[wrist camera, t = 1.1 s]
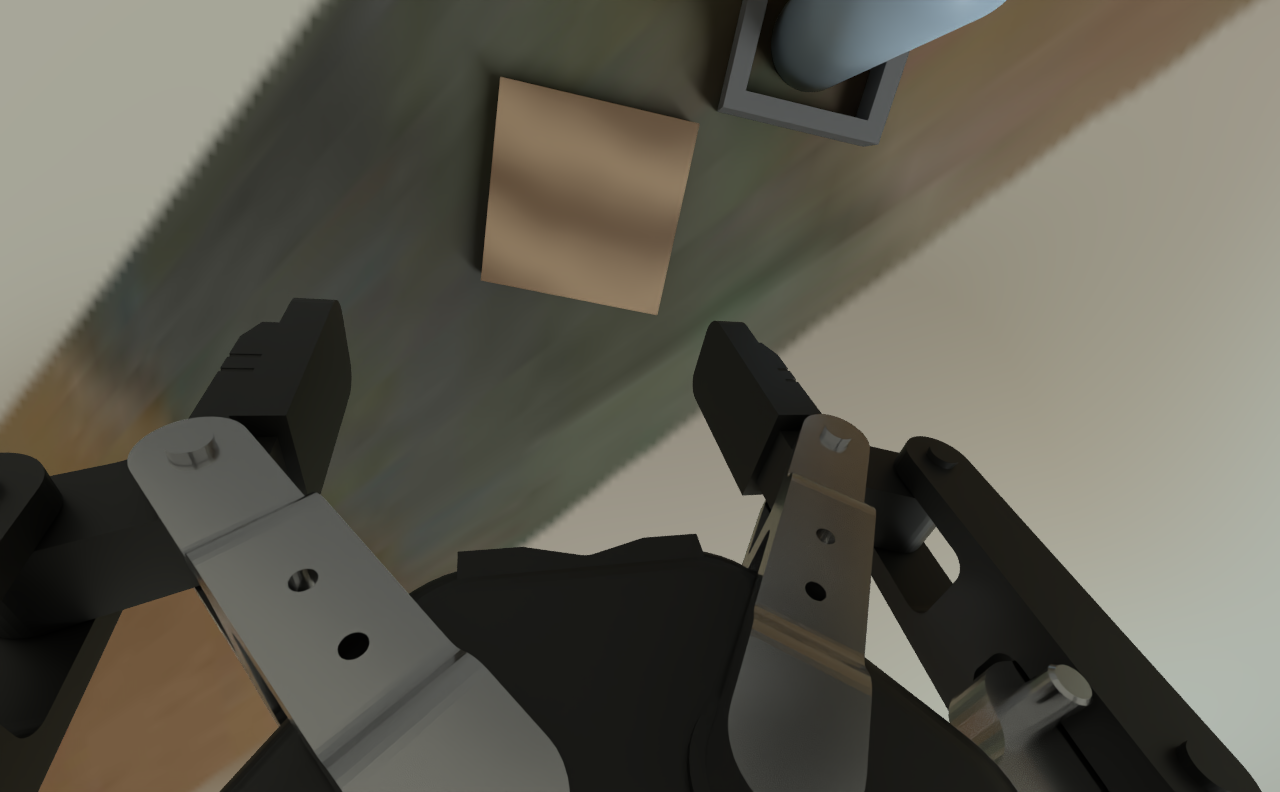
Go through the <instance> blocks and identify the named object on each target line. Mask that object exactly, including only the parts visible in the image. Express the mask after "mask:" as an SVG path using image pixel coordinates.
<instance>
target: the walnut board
mask: <svg viewBox="0 0 1280 792" xmlns="http://www.w3.org/2000/svg"><path fill="white" fill-rule="evenodd" d="M698 128H699V124H698V123H694V122H690V121H685V120H681V119H677V118H673V117H669V116H664V115H660V114H656V113H652V112H647V111H643V110H639V109H635V108H631V107H626V106H622V105H618V104H614V103H609V102H605V101H601V100H597V99H593V98H588V97H584V96H580V95H576V94H571V93H567V92H563V91H559V90H555V89H550V88H546V87H542V86H538V85H533V84H529V83H525V82H521V81H516V80H512V79H508V78H504V77H500V85H499V96H498V106H497V117H496V127H495V138H494V148H493V159H492V169H491V179H490V190H489V200H488V211H487V221H486V232H485V242H484V253H483V263H482V274H481V280H482V281H487V282H492V283H497V284H502V285H507V286H512V287H517V288H522V289H527V290H532V291H538V292H543V293H548V294H553V295H558V296H563V297H568V298H573V299H578V300H583V301H588V302H593V303H598V304H603V305H608V306H613V307H618V308H624V309H629V310H634V311H639V312H644V313H649V314H654V315H657V314H658V309H659V305H660V300H661V296H662V291H663V287H664V282H665V278H666V273H667V269H668V264H669V259H670V255H671V250H672V246H673V241H674V237H675V232H676V228H677V223H678V219H679V214H680V210H681V205H682V201H683V196H684V192H685V187H686V183H687V178H688V174H689V169H690V165H691V160H692V156H693V151H694V147H695V142H696V138H697V133H698Z"/></svg>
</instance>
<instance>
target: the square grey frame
mask: <svg viewBox="0 0 1280 792" xmlns="http://www.w3.org/2000/svg"><path fill="white" fill-rule="evenodd" d="M767 2H768V0H743V1H742V6H741V10H740V14H739V19H738V23H737V27H736V32H735V36H734V40H733V45H732V49H731V53H730V58H729V62H728V66H727V71H726V75H725V79H724V84H723V88H722V92H721V97H720V101H719V105H718V110H717V112H721V113H726V114H730V115H734V116H738V117H742V118H746V119H751V120H755V121H759V122H763V123H767V124H771V125H776V126H780V127H784V128H788V129H792V130H796V131H801V132H805V133H809V134H813V135H817V136H821V137H826V138H830V139H834V140H838V141H842V142H846V143H851V144H855V145H859V146H863V147H864V146H870V145H877V144H879V141H880V138H881V135H882V132H883V129H884V126H885V123H886V120H887V117H888V114H889V111H890V108H891V105H892V102H893V99H894V96H895V93H896V90H897V87H898V84H899V81H900V78H901V75H902V72H903V69H904V66H905V63H906V60H907V57H908V54H909V51H908V52H906V53H903V54H901V55H899V56H897V57H895V58H892V59H890V60H888V61H886V62H884V63H882V64H879V65H877V66H875V67H873V68H871V70H870V73H869V76H868V80H867V83H866V86H865V89H864V92H863V95H862V99H861V102H860V105H859V108H858V111H857V114H856V117H851V116H847V115H843V114H839V113H835V112H831V111H827V110H823V109H819V108H815V107H811V106H807V105H802V104H798V103H794V102H790V101H786V100H782V99H778V98H774V97H770V96H766V95H762V94H758V93H754V92H750V91H746V88H747V84H748V80H749V76H750V72H751V68H752V63H753V59H754V55H755V51H756V47H757V43H758V39H759V35H760V31H761V27H762V23H763V19H764V14H765V10H766V6H767Z"/></svg>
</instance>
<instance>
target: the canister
mask: <svg viewBox="0 0 1280 792" xmlns="http://www.w3.org/2000/svg"><path fill="white" fill-rule="evenodd" d="M1005 1H1006V0H789V1H788V2H787V3H786V5H785V6H784V7H783V9H782V10H781V12H780V13H779V15H778V17H777V19H776V22H775V25H774V28H773V32H772V37H771V53H772V59H773V62H774V65H775V68H776V70H777V72H778V73H779V75H780V76H781V78H782V79H783V80H784V81H785V82H786V83H787V84H788V85H790V86H791V87H793V88H795V89H797V90H800V91H804V92H818V91H822V90H825V89H827V88H829V87H832V86H834V85H836V84H838V83H840V82H842V81H845V80H847V79H849V78H851V77H853V76H856V75H858V74H860V73H862V72H864V71H866V70H869V69H871V68H873V67H875V66H877V65H879V64H882V63H884V62H886V61H888V60H890V59H892V58H895V57H897V56H899V55H901V54H903V53H906V52H908V51H910V50H912V49H914V48H916V47H919V46H921V45H923V44H925V43H927V42H929V41H932V40H934V39H936V38H938V37H940V36H942V35H945V34H947V33H949V32H951V31H953V30H955V29H958V28H960V27H962V26H964V25H966V24H969V23H971V22H973V21H975V20H977V19H979V18H982V17H984V16H985V15H987V14H989V13H990V12H992V11H994V10H995V9H996V8H998V7H999V6H1000V5H1002V4H1003V3H1004V2H1005Z"/></svg>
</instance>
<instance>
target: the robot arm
mask: <svg viewBox="0 0 1280 792" xmlns="http://www.w3.org/2000/svg"><path fill="white" fill-rule="evenodd" d="M229 354H230V357H227V358H226V360H225V361H224V363H223V364H222V366H221V371H218V372H217V374H216V376H215V377H214V379H213V380H212V382H211V384H210V385H209V387H208V388H207V390H206V392H205V393H204V395H203V396H202V398H201V400H200V401H199V403H198V404H197V406H196V408H195V409H194V411H193V412H192V414H191V415H190V417H189V419H185V420H181V421H178V422H174V423H171V424H169V425H166V426H163V427H161V428H159V429H157V430H155V431H153V432H151V433H150V434H148V435H147V436H145V437H144V438H143V439H141V440H140V441H139V442H138V443H137V444H136V445H135V446H134V447H133V449H132V450H131V452H130V453H129V456H128V459H127V460H124V461H121V462H116V463H112V464H108V465H103V466H98V467H93V468H88V469H83V470H78V471H73V472H68V473H63V474H58V475H53V476H49V474H48V473H47V471H46V470H45V468H44V467H43V465H42V464H41V463H40V462H39V461H38V460H37V459H35V458H33V457H30V456H27V455H23V454H18V453H0V792H38V791H39V789H40V786H41V784H42V782H43V780H44V778H45V776H46V774H47V771H48V769H49V767H50V765H51V763H52V761H53V759H54V756H55V754H56V752H57V750H58V748H59V746H60V744H61V741H62V739H63V737H64V735H65V733H66V731H67V728H68V726H69V724H70V722H71V720H72V718H73V716H74V713H75V711H76V709H77V707H78V705H79V703H80V701H81V698H82V696H83V694H84V692H85V690H86V688H87V686H88V683H89V681H90V679H91V677H92V675H93V673H94V671H95V668H96V666H97V664H98V662H99V660H100V658H101V656H102V653H103V651H104V649H105V647H106V645H107V643H108V640H109V638H110V636H111V634H112V632H113V630H114V628H115V625H116V623H117V621H118V619H119V617H120V615H121V613H122V610H124V609H127V608H130V607H133V606H136V605H140V604H143V603H146V602H149V601H152V600H155V599H159V598H162V597H165V596H168V595H171V594H175V593H178V592H181V591H184V590H187V589H190V588H194V589H195V591H196V593H197V594H198V596H199V597H200V599H201V601H202V602H203V604H204V605H205V607H206V609H207V610H208V612H209V613H210V615H211V617H212V618H213V620H214V621H215V623H216V625H217V626H218V628H219V629H220V631H221V632H222V634H223V636H224V637H225V639H226V640H227V642H228V644H229V645H230V647H231V648H232V650H233V652H234V653H235V655H236V656H237V658H238V660H239V661H240V663H241V664H242V666H243V668H244V669H245V671H246V673H247V674H248V676H249V678H250V680H251V681H252V683H253V685H254V686H255V688H256V690H257V692H258V693H259V695H260V697H261V699H262V700H263V702H264V704H265V705H266V707H267V709H268V710H269V712H270V713H271V715H272V717H273V718H274V720H275V722H276V723H277V725H278V726H279V728H278V729H277V730H276V731H275V732H274V733H273V734H272V735H271V736H270V737H269V738H268V740H267V741H266V742H265V743H264V744H263V745H262V746H261V747H260V748H259V749H258V750H257V752H256V753H255V754H254V755H253V756H252V757H251V758H250V759H249V760H248V761H247V762H246V764H245V765H244V766H243V767H242V768H241V769H240V770H239V771H238V772H237V773H236V774H235V776H234V777H233V778H232V779H231V780H230V781H229V782H228V783H227V784H226V785H225V786H224V788H223V789H222V790H221V791H220V792H1262V791H1261V790H1260V788H1259V786H1258V785H1257V783H1256V782H1255V781H1254V779H1253V778H1252V776H1251V775H1250V774H1249V772H1248V771H1247V770H1246V769H1245V768H1244V766H1243V765H1242V764H1241V763H1240V762H1239V761H1238V760H1237V758H1236V757H1235V756H1234V755H1233V754H1232V753H1231V752H1230V751H1229V750H1228V749H1227V747H1226V746H1225V745H1224V744H1223V743H1222V742H1221V741H1220V740H1219V738H1218V737H1217V736H1216V735H1215V734H1214V733H1213V732H1212V731H1211V730H1210V728H1209V727H1208V726H1207V725H1206V724H1205V723H1204V722H1203V721H1202V720H1201V718H1200V717H1199V716H1198V715H1197V714H1196V713H1195V712H1194V711H1193V710H1192V709H1191V707H1190V706H1189V705H1188V704H1187V703H1186V702H1185V701H1184V700H1183V698H1182V697H1181V696H1180V695H1179V694H1178V693H1177V692H1176V691H1175V690H1174V688H1173V687H1172V686H1171V685H1170V684H1169V683H1168V682H1167V681H1166V680H1165V678H1163V676H1162V675H1161V674H1160V673H1159V672H1158V671H1157V670H1156V668H1155V667H1154V666H1153V665H1152V664H1151V663H1150V662H1149V661H1148V660H1147V658H1146V657H1145V656H1144V655H1143V654H1142V653H1141V652H1140V651H1139V650H1138V648H1137V647H1136V646H1135V645H1134V644H1133V643H1132V642H1131V641H1130V640H1129V638H1128V637H1127V636H1126V635H1125V634H1124V633H1123V632H1122V631H1121V630H1120V628H1119V627H1118V626H1117V625H1116V624H1115V623H1114V622H1113V621H1112V620H1111V618H1110V617H1109V616H1108V615H1107V614H1106V613H1105V612H1104V611H1103V610H1102V608H1101V607H1100V606H1099V605H1098V604H1097V603H1096V602H1095V601H1094V599H1093V598H1092V597H1091V596H1090V595H1089V594H1088V593H1087V592H1086V591H1085V589H1083V587H1082V586H1081V585H1080V584H1079V583H1078V582H1077V581H1076V579H1075V578H1074V577H1073V576H1072V575H1071V574H1070V573H1069V572H1068V571H1067V569H1066V568H1065V567H1064V566H1063V565H1062V564H1061V563H1060V562H1059V561H1058V559H1056V557H1055V556H1054V555H1053V554H1052V553H1051V552H1050V551H1049V550H1048V548H1047V547H1046V546H1045V545H1044V544H1043V543H1042V542H1041V541H1040V539H1039V538H1038V537H1037V536H1036V535H1035V534H1034V533H1033V532H1032V531H1031V530H1030V528H1029V527H1028V526H1027V525H1026V524H1025V523H1024V522H1023V521H1022V519H1021V518H1020V517H1019V516H1018V515H1017V514H1016V513H1015V512H1014V511H1013V509H1012V508H1011V507H1010V506H1009V505H1008V504H1007V503H1006V502H1005V501H1004V499H1003V498H1002V497H1001V496H1000V495H999V494H998V493H997V492H996V491H995V489H993V487H992V486H991V485H990V484H989V483H988V482H987V481H986V480H985V479H984V477H983V476H982V475H981V474H980V473H979V472H978V471H977V469H976V468H975V467H974V466H973V465H972V464H971V463H970V462H969V461H968V459H966V457H964V456H963V455H962V454H961V453H960V452H959V451H957V450H956V449H954V448H953V447H951V446H949V445H948V444H946V443H944V442H941V441H939V440H936V439H933V438H929V437H923V436H917V437H912V438H910V439H909V440H908V441H907V443H906V444H905V446H904V447H903V449H902V450H901V452H900V453H897V452H893V451H888V450H884V449H880V448H875V447H871V446H870V445H869V442H868V440H867V438H866V437H865V436H864V434H863V433H862V432H861V431H860V430H858V429H857V428H856V427H855V426H853V425H852V424H850V423H849V422H847V421H845V420H843V419H841V418H838V417H835V416H831V415H826V414H821V412H820V411H819V410H818V409H817V407H816V406H815V404H814V403H813V402H812V400H811V399H810V398H809V396H808V395H807V394H806V392H805V391H804V390H803V388H802V387H801V386H800V384H799V383H798V382H796V379H795V377H794V376H793V375H792V373H791V372H790V371H788V370H787V369H788V368H787V367H786V365H785V364H784V363H783V361H782V360H781V359H780V357H779V356H778V355H777V354H776V353H774V352H773V351H772V350H770V349H769V348H768V347H766V346H765V345H764V344H762V343H759V342H758V341H757V340H756V338H755V337H754V335H753V334H752V333H751V331H750V330H749V328H748V327H747V326H746V325H745V324H744V323H743V322H727V321H713V322H712V323H711V324H710V325H709V327H708V329H707V332H706V335H705V339H704V342H703V345H702V348H701V352H700V355H699V358H698V361H697V365H696V368H695V371H694V375H693V393H694V397H695V399H696V401H697V403H698V405H699V407H700V409H701V411H702V413H703V415H704V418H705V419H706V422H707V424H708V426H709V428H710V430H711V432H712V434H713V436H714V438H715V440H716V442H717V444H718V446H719V448H720V450H721V452H722V454H723V456H724V459H725V461H726V463H727V465H728V467H729V469H730V471H731V473H732V475H733V477H734V479H735V481H736V483H737V485H738V487H739V489H740V491H741V493H742V495H761V494H763V496H764V497H765V499H766V500H765V502H764V504H763V506H762V508H761V510H760V513H759V516H758V519H757V522H756V525H755V528H754V531H753V534H752V537H751V539H750V543H749V545H748V548H747V551H746V554H745V558H744V560H743V563H742V565H741V564H739V563H737V562H735V561H733V560H730V559H727V558H725V557H722V556H718V555H715V554H711V553H708V552H703V551H702V548H701V545H700V543H699V540H698V537H697V535H696V534H687V535H674V536H661V537H648V538H642V539H638V540H635V541H632V542H629V543H626V544H623V545H620V546H617V547H614V548H611V549H608V550H605V551H602V552H599V553H595V554H592V555H576V554H568V553H562V552H554V551H547V550H540V549H534V548H526V547H515V548H502V549H489V550H476V551H462V552H458V563H457V572H454V573H451V574H447V575H444V576H442V577H440V578H437V579H435V580H433V581H430V582H428V583H427V584H425V585H423V586H421V587H419V588H418V589H416V590H414V591H413V592H411V593H410V594H408V593H407V592H406V590H405V589H404V588H403V587H402V586H401V585H400V584H399V583H398V581H397V580H396V579H395V578H394V577H393V576H392V575H391V573H390V572H389V571H388V570H387V569H386V568H385V567H384V566H383V564H382V563H381V562H380V561H379V560H378V559H377V558H376V556H375V555H374V554H373V553H372V552H371V551H370V550H369V548H368V547H367V546H366V545H365V544H364V543H363V542H362V541H361V539H360V538H359V537H358V536H357V535H356V534H355V533H354V531H353V530H352V529H351V528H350V527H349V526H348V525H347V524H346V522H345V521H344V520H343V519H342V518H341V517H340V516H339V514H338V513H337V512H336V511H335V510H334V509H333V508H332V506H331V505H330V504H329V503H328V502H327V501H326V500H325V499H324V498H323V497H322V496H321V495H320V494H321V491H322V487H323V484H324V480H325V477H326V474H327V470H328V467H329V463H330V460H331V457H332V453H333V450H334V446H335V443H336V440H337V436H338V433H339V429H340V426H341V423H342V419H343V416H344V413H345V409H346V406H347V402H348V399H349V395H350V390H351V364H350V358H349V352H348V346H347V340H346V334H345V327H344V321H343V315H342V310H341V306H340V304H339V302H338V301H337V300H325V299H306V298H293V299H292V301H291V302H290V304H289V306H288V308H287V310H286V311H285V313H284V315H283V317H282V319H281V321H280V322H279V323H277V322H261V323H260V324H258V325H257V326H255V327H254V328H252V329H251V330H249V331H248V332H246V333H244V334H243V335H241V336H240V337H239V339H238V341H237V342H236V344H235V345H234V347H233V349H232V350H231V352H230V353H229ZM935 527H937V528H938V530H939V531H940V532H941V534H942V535H943V536H944V538H945V539H946V541H947V542H948V543H949V545H950V546H951V547H952V548H953V550H954V551H955V553H956V555H957V557H958V560H959V563H960V573H959V576H958V578H957V580H956V581H955V582H954V583H952V582H951V581H950V579H949V578H948V576H947V575H946V574H945V572H944V571H943V569H942V568H941V566H940V565H939V563H938V562H937V560H936V559H935V558H934V556H933V555H932V553H931V552H930V550H929V549H928V547H927V546H926V545H925V543H924V541H925V540H926V538H927V537H928V536H929V535H930V534H931V532H932V531H933V530H934V529H935ZM871 576H872V577H873V579H874V581H875V583H876V585H877V586H878V588H879V590H880V591H881V593H882V595H883V597H884V598H885V600H886V602H887V604H888V606H889V607H890V609H891V611H892V612H893V614H894V616H895V618H896V620H897V621H898V623H899V625H900V626H901V628H902V630H903V632H904V634H905V635H906V637H907V639H908V641H909V642H910V644H911V646H912V648H913V649H914V651H915V653H916V654H917V656H918V658H919V660H920V662H921V663H922V665H923V667H924V668H925V670H926V672H927V674H928V675H929V677H930V679H931V681H932V683H933V684H934V686H935V688H936V690H937V691H938V693H939V695H940V697H941V698H942V700H943V702H944V703H945V705H946V707H947V709H948V711H949V721H950V723H949V722H948V721H946V720H945V719H944V718H942V717H941V716H940V715H939V714H937V713H936V712H935V711H933V710H932V709H931V708H930V707H928V706H927V705H926V704H924V703H923V702H922V701H921V700H919V699H918V698H917V697H915V696H914V695H913V694H911V693H910V692H909V691H907V690H906V689H905V688H904V687H902V686H901V685H900V684H898V683H897V682H896V681H895V680H893V679H892V678H891V677H889V676H888V675H887V674H886V673H884V672H883V671H882V670H881V669H879V668H878V667H877V666H875V665H874V664H873V663H872V662H870V661H869V660H868V659H866V658H865V644H866V632H867V620H868V619H867V618H868V607H869V594H870V583H871Z"/></svg>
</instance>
